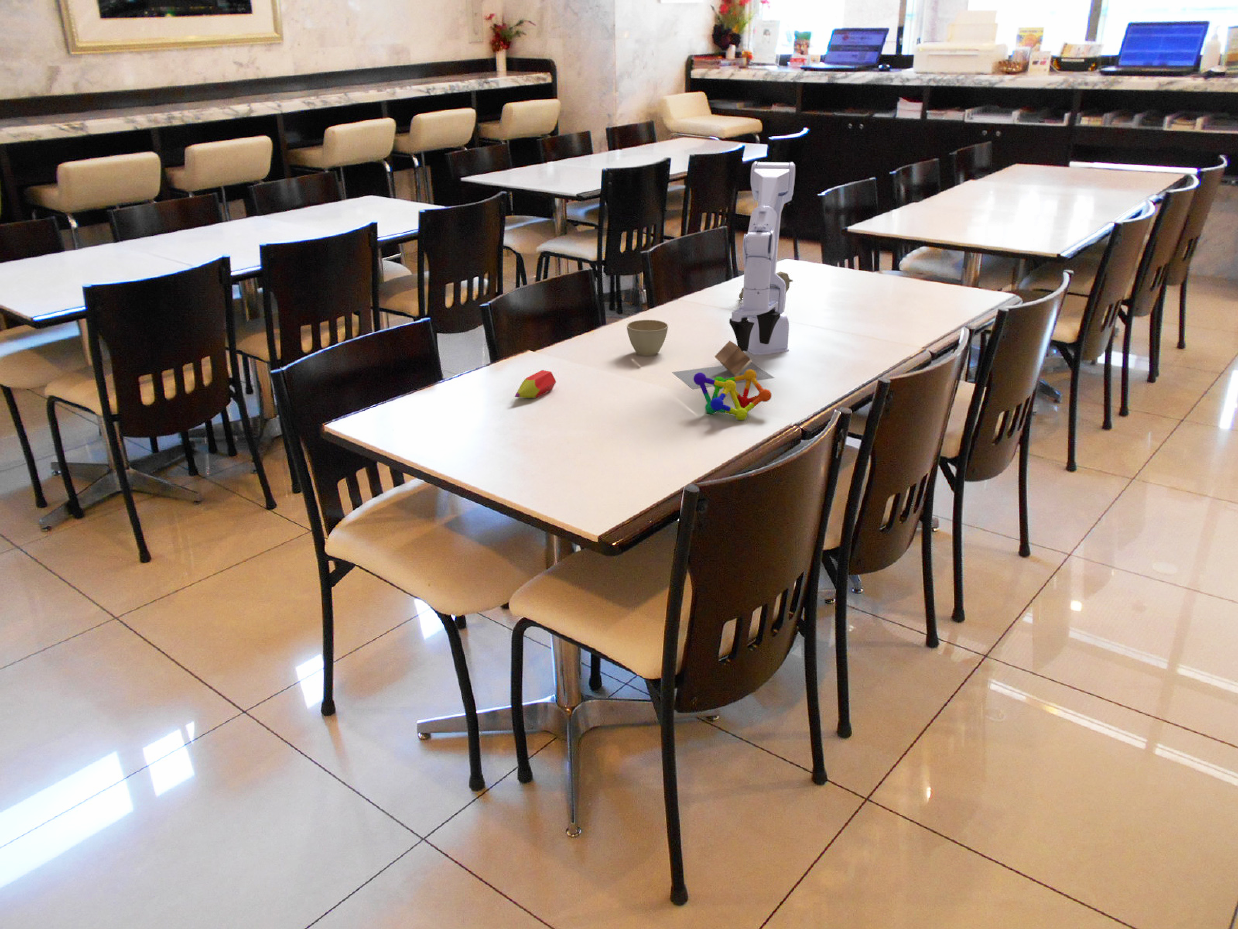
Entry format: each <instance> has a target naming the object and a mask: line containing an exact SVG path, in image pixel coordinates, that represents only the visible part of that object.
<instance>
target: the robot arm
mask: <svg viewBox="0 0 1238 929" xmlns="http://www.w3.org/2000/svg"><path fill="white" fill-rule="evenodd" d="M795 179H796V164H795V163H794V162H793V161H789V162H777V161H775V162H772V161H770V162H769V161H764V162H763V161H761V162H760V161H757V160H756V161H754V162H753V163H752V164H751V169H750V187H751V194H752V196H753V200H755V201H756V202H757V207H755V208H754V209H753V210H752V212H751V214H750V219H749V224H748V225H749V226H748V229H747V230H748V231H747V233H744V235H743V239H742V258H743V261H742V262H743V263H742V264H743V267H744V271H743V272H744V273H743V274H744V275H743V287H744V291H743V299H742V303H740V304H739V305H738V306H739V308H737V309H736V310H734V311H732V312H731V318H728V319H729V320H728V321H729V322H728V323H729V326H731V328H732V331H733V333H734V335H735V340H736V343H737V344H736V345H737V346H738V347H740V348H741V351H743V352H744V353H746V352H748V353H750V354H751V355H753V356H762V355H769V354H777V353H784V352H790V348H788V344H789V331H790V322H789V318H788V315H787V314H786V313H785V308H786V299H787V292H786V284H785V281H784V280H783V279H782V278H781V277H779V276H778V275H777V274H776V273H777V264H778V263H777V262H778V261H777V260H778V251H779V239H780V230H781V229H780V228H781V220H782V219H781V216H782V211H783V209H784V205H785V204H786V203H789V202H791V201H792V200H793V195H794V187H795ZM770 287H778V288H770Z"/></svg>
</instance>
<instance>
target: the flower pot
mask: <svg viewBox="0 0 1238 929" xmlns="http://www.w3.org/2000/svg"><path fill="white" fill-rule="evenodd" d="M668 328H669V324H668V323H666V322H665V321H661V320H658V319H657V320H656V319H639V320H638V319H637V320H634V321H633V320H632V321H630V322H628V323H626V331H627V334H628V338H629V342H630V344H631V347H633V350H634V351H635V353H636V354H637V355H638V356H641V357H642V356H644V357H646V356H647V357H648V356H649V357H650V356H651V357H652V356H655V355H657V354H658V353H659V352H660V351H661V349H662V347H663V345H664V342H665V340H666V337H667V334H668V330H669V329H668Z"/></svg>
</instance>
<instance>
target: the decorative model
mask: <svg viewBox="0 0 1238 929" xmlns="http://www.w3.org/2000/svg"><path fill="white" fill-rule="evenodd" d="M756 377H757V374H756V372H755V371H754V370H751V369H749V370H747V371H746V372H745V373H744V375H740V376H736V377H732V378H728V379H724V378H722V377H716V378H715V379H710V378H706V376H705V374H703V373H700V372H699V373H697V374H695V376H694V382H695V383H696V384H697V385H700V387H701V388H700V389H701V391H702V394H703V396H704V399H705V401H706V404H705V406H704V409H705V411H706V412H707V413H708V414H710V415H713V414H716V413H717V412H718V413H722V414H723V413H724V414H727V415H730V416H731V415H732V416H734V418H735V419H736V420H737V421H744V420H746V419H747V417H748V412H750V411H751V410H752V409H754V408H755V407H756V406H757V405H759V404H760V403H761V402H763V403H765V402H769V401H770V400H772V393H771V391H770V390H769V389H767V388H763V387H762V386H761V384H760V382H758V381H759V380H756ZM741 380H746V382H745V386H744V388H743V393H742V395H741V394H740V393H739V391H738V390H737V383H735V382H736V381H741ZM705 383H708V384H712V385H713V386H712V387H714V390H713V393H712V397H711V396H710V394H709V391H708V387H706V386H705ZM751 383H752V384H753V386H754V387H755V388H756V389H757V391H758V395H754V396H751V397H749V398H748V396H749V392H750V388H751ZM722 389H723V390H722ZM720 390H722V391H721V392H720ZM728 394H729V395H730V397H731V400H732V402H733V404H734V407H735V408H734V407H732V406H730V405H727V404H725V402H724V399H725V398H726V397H727V395H728Z"/></svg>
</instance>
